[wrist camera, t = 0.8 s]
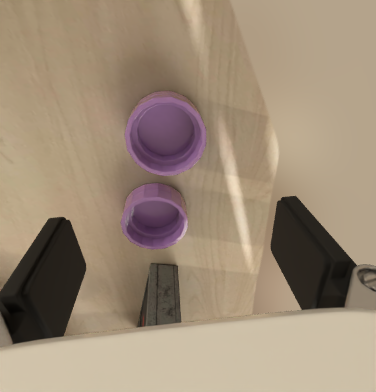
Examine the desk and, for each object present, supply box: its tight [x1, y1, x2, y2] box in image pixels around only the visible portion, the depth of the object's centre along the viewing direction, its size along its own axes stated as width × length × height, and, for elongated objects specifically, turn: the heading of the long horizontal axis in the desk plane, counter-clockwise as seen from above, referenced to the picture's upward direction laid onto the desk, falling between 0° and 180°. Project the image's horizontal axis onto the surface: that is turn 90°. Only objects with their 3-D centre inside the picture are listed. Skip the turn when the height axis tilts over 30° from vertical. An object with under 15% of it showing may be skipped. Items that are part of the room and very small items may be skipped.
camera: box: [137, 264, 181, 328], centre depth 33 cm, size 16×4×10 cm, turn 167°
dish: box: [121, 183, 188, 249], centre depth 27 cm, size 7×7×3 cm
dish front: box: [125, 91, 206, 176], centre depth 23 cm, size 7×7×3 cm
